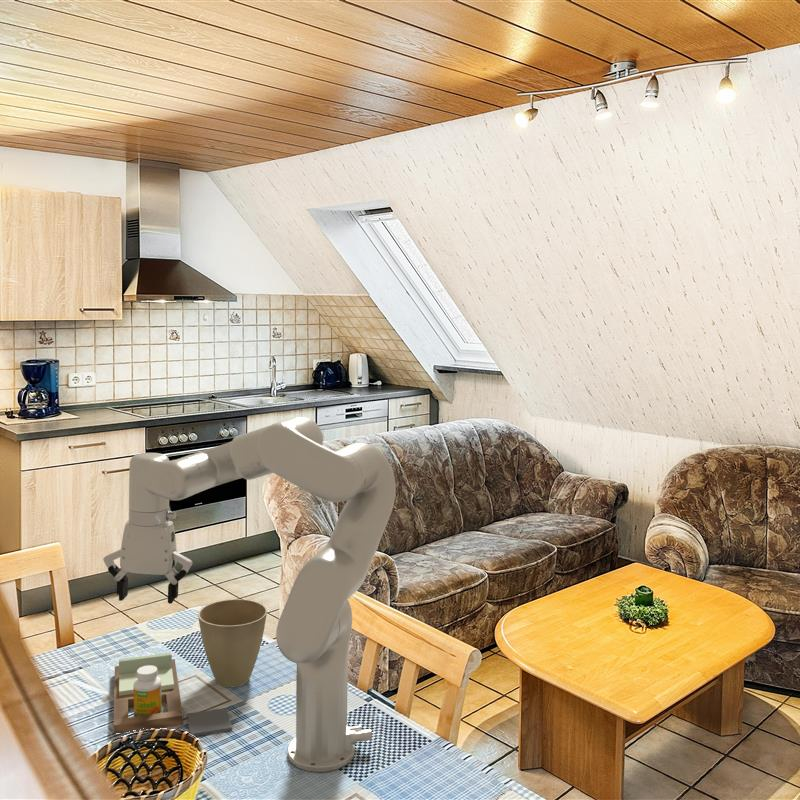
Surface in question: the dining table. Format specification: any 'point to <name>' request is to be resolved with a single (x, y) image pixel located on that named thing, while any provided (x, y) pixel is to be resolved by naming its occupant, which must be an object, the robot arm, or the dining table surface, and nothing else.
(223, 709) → the pad
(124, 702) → the well board
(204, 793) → the dining table surface
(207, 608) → the plant pot
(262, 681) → the dining table surface
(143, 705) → the supplement bottle
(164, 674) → the slide cover
